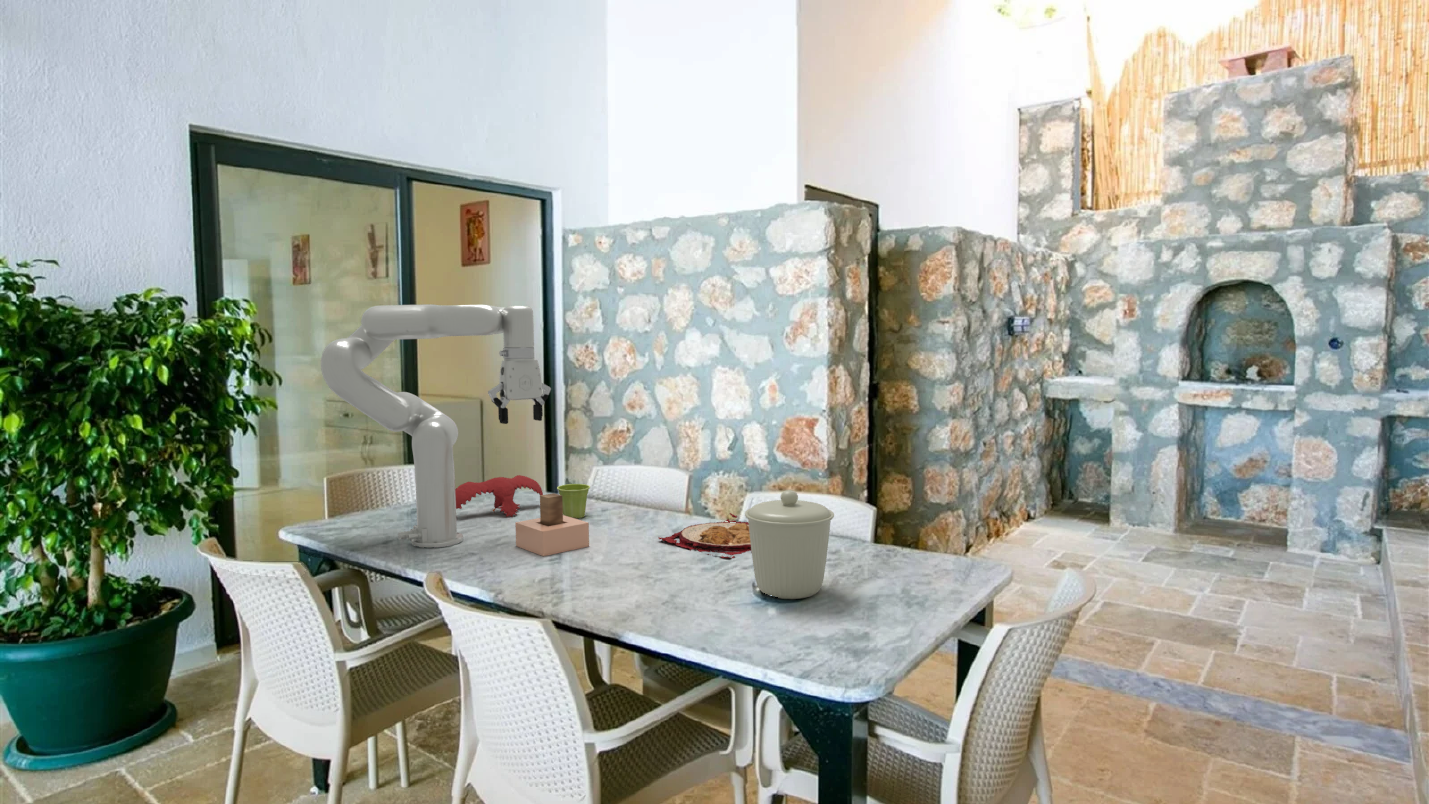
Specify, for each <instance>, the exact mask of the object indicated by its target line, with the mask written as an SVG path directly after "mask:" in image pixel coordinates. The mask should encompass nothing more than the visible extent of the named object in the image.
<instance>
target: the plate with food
mask: <svg viewBox="0 0 1429 804" xmlns="http://www.w3.org/2000/svg"><path fill="white" fill-rule="evenodd" d="M729 515H730V516H731V518H735V519H737V518H738V516H737V515H735V514H733V513H731V512H730V513H729ZM725 521H728V522H725ZM730 522H736V523H730ZM677 537H678V539H679V541H678V540H677ZM658 540H661V541H663V542H665V541H666V542H667V543H670V544H674V545H675V546H679V547H681V548H685V549H689V551H693V550H696V551H697V552H700V553H703V552H707V553H706V555H707V556H712V554H710V553H711V552H712V553H716V552H717V553H719V554H724V556H723V555H721V558H723V559H731V560H732V559H734V558H736V556H735V555H742V554H744V553H746V552H751V554H752V551H751V541H750V533H749V523H748V521H746V522H745V521H741V520H740V521H736V520H734V519H732V520H730V519H729V518H726V520H724V521H717V522H715V521H714V522H711V521H710V522H706V523H698V524H693V525H689V526H687V527H685V528H682V530H680V531H679V532H675V533H673V534H672V535H670V536H666V537H659V536H658ZM725 555H728V556H725Z"/></svg>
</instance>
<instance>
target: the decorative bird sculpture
mask: <svg viewBox="0 0 1429 804" xmlns="http://www.w3.org/2000/svg"><path fill="white" fill-rule="evenodd" d="M522 488H523V489H524V490H525V489H526V488H528V489H529V490H533V492H535V493H537V495H538V494H539V496H540V495H544V492H543V489H542V487H541V485H540V484H539V483H538V482H537V480H534V479H533V478H531V477H528V476H526V475H520V474H519V475H515V476H514V477H511V478H510V477H504V476H499V477H493V478H490V479H487V480H484V481H481V482H475V481H474V482H473V481H467V482H463V483H462V484H460V485H459V486H457V487H455V495H456V510H457V509H459V510H461V509H463V507H462V505H467V501H468V502H471V501H472V498H476V497H477V495H479V496H482V494H484V495H486V494H487V493H488V494H492V495H493V496H494V503H493V507H494V508H492V509H491V511H493V513H495V511H496V509H499V510H500V513H501V512H503V515H504V514H505V517H509V516H510V517H511V518H513V516H517V513H518V512H519V511H518V510H520V509H521V507H520V506H521V504H518V503H516V502H514V496H515V493H516V490H518V489H520V490H522Z"/></svg>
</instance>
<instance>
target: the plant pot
mask: <svg viewBox="0 0 1429 804" xmlns="http://www.w3.org/2000/svg"><path fill="white" fill-rule="evenodd" d="M556 489H557V490H558V495H562V500H563V515H565V516H568V517H571V518H575V519H581V518H584V517H585V515H586V509H587V502H588V501H587V500H588V494H589V491H590V489H591V486H590V485H588V484H583V483H569V484H568V483H567V484H561V485H558V486H557V487H556Z"/></svg>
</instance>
